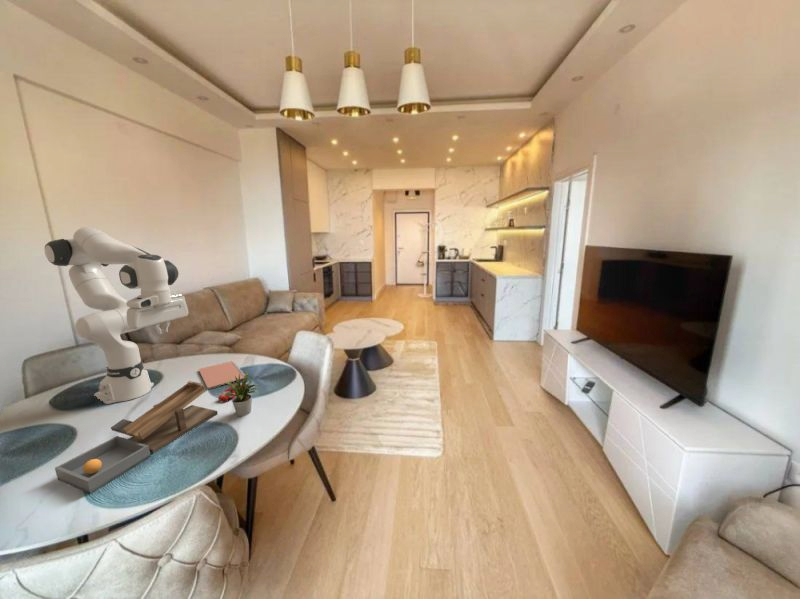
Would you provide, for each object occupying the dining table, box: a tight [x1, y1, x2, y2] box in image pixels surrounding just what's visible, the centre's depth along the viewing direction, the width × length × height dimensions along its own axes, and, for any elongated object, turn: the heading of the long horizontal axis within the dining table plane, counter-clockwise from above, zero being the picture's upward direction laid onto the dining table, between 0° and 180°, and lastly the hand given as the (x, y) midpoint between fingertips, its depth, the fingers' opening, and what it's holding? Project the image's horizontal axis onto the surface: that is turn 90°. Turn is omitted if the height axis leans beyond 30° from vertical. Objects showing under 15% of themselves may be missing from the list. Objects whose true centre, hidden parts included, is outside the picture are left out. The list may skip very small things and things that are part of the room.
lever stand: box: [128, 402, 219, 454], centre depth 116 cm, size 14×24×9 cm, turn 160°
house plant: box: [218, 371, 260, 417], centre depth 123 cm, size 14×14×16 cm
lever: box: [110, 380, 206, 440], centre depth 115 cm, size 16×24×4 cm, turn 160°
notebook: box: [198, 360, 246, 390], centre depth 160 cm, size 27×17×2 cm, turn 39°
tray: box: [54, 435, 152, 495], centre depth 97 cm, size 16×16×4 cm
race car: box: [218, 382, 242, 403], centre depth 140 cm, size 13×5×4 cm, turn 158°
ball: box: [83, 459, 102, 474], centre depth 94 cm, size 4×4×4 cm
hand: (163, 333), depth 122 cm, fingers closed
